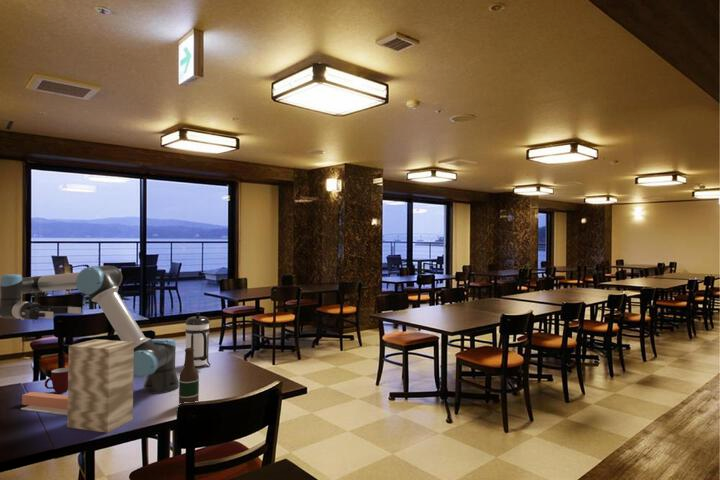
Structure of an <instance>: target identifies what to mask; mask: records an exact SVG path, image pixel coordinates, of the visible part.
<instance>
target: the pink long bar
mask: <svg viewBox="0 0 720 480" xmlns="http://www.w3.org/2000/svg"><path fill="white" fill-rule="evenodd" d="M21 405H23V406H29V405H31V406H40V407H49V408H58V409H67V410H68V394H67V395H65V394H58V393H56V394H55V393H46V392H35V391H30V392H25V393H23V394H22V395H21Z"/></svg>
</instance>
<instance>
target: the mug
mask: <svg viewBox="0 0 720 480" xmlns="http://www.w3.org/2000/svg"><path fill="white" fill-rule="evenodd" d="M50 374H51V375H50V377H48V378H47V379H45V380H44V381H45V382H44V387H45V388H46V389H48V390H54V391H55V393H56V394H58V395H61V394H65V393H68V367H61V368H56V369H52V370H51V373H50ZM49 381H51V385H52V386H48V383H49Z"/></svg>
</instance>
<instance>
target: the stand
mask: <svg viewBox="0 0 720 480" xmlns="http://www.w3.org/2000/svg"><path fill="white" fill-rule="evenodd" d="M133 367H134V342H127V341H121V340H111V339H110V340H109V339H98V338H97V339H96V338H95V339H91V340H86V341H83V342H78V343H75V344H72V345H71V344H70V345H68V367H67V368H68V390H67V395H68V415H66V417H67V418H66V419H67V423H66V425H67V426H66V427H67V428H71V429H78V430H84V431H85V430H86V431H91V432H92V431H93V432H99V433H100V432H102V433H111V432H112V431H114V430H116V429H117V428H120V427H122V426H123V425H125V424H128V423H130V422H131V421H133V419H134V416H133V415H134V413H133V412H134V375H133Z"/></svg>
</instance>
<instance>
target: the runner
mask: <svg viewBox="0 0 720 480" xmlns="http://www.w3.org/2000/svg"><path fill="white" fill-rule="evenodd" d="M20 410H21V411H30V412H37V413H44V414H45V413H47V414H51V415H52V414H53V415H62V416H68V410H67V409H58V408H49V407H40V406H31V405H26V406H25V407H21V408H20Z"/></svg>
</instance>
